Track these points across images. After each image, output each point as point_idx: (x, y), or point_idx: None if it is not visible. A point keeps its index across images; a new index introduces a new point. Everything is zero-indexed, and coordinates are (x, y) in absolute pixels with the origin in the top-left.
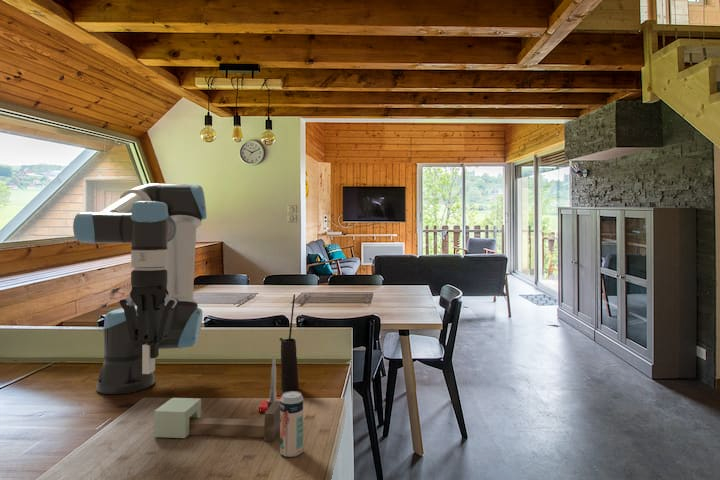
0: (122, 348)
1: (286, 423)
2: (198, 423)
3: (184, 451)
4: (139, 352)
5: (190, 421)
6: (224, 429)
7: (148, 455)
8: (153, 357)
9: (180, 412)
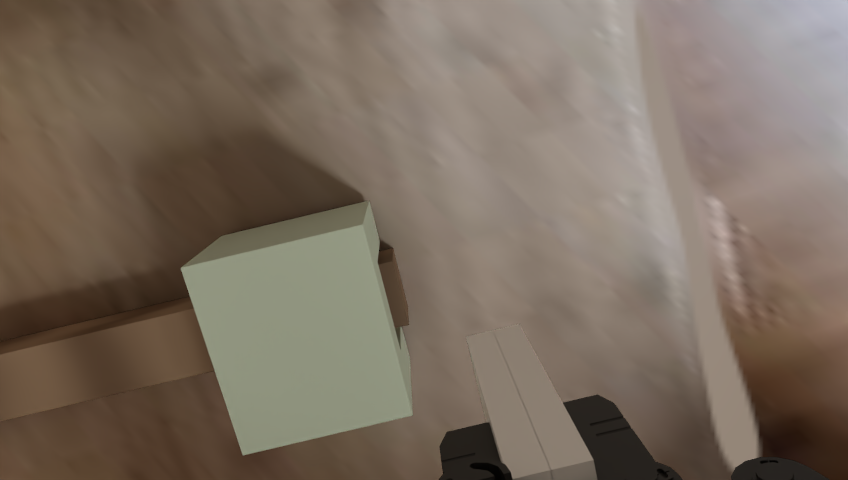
0: None
1: None
2: (182, 310)
3: (139, 139)
4: (620, 421)
5: None
6: (62, 332)
7: (265, 56)
8: (458, 435)
9: (207, 260)
